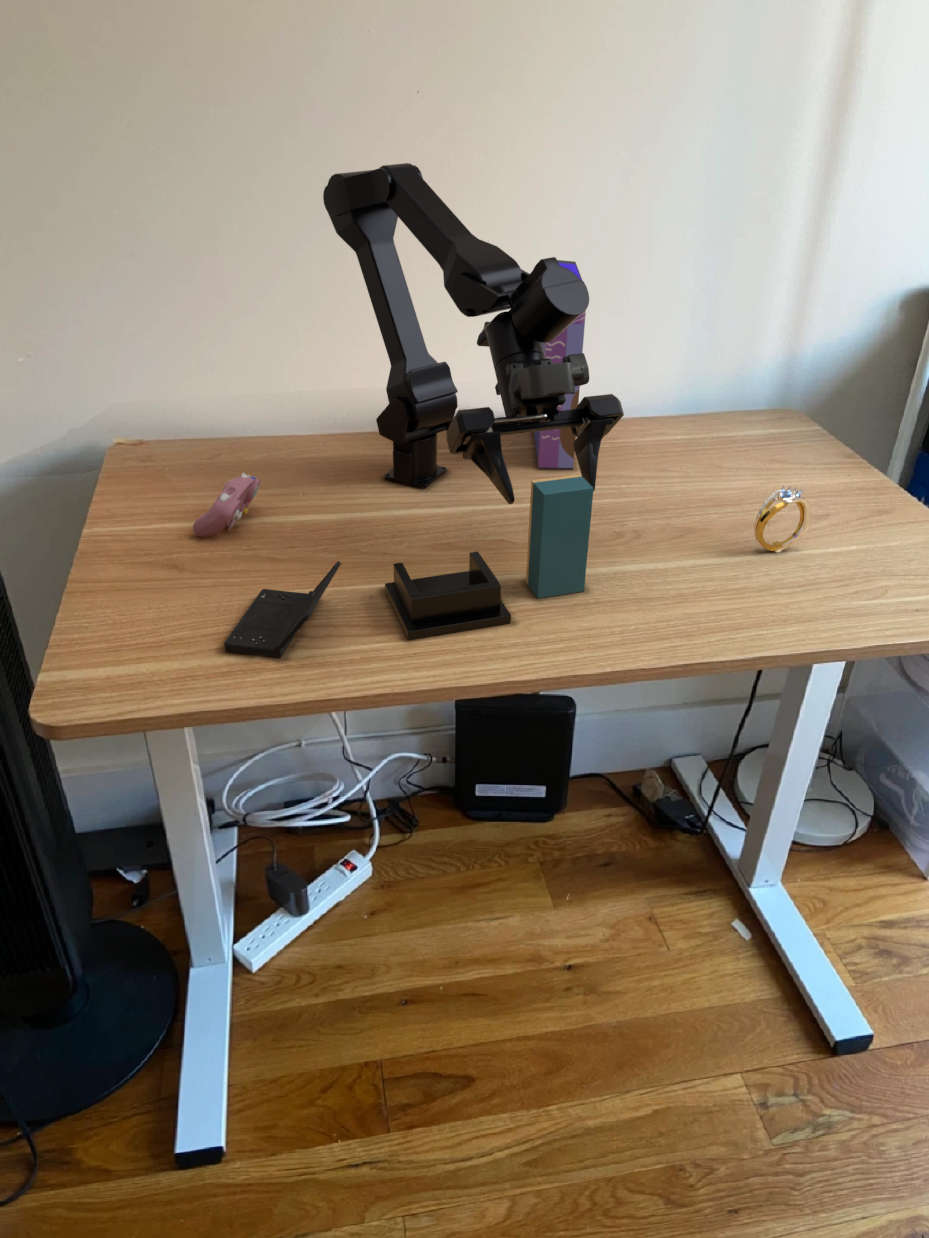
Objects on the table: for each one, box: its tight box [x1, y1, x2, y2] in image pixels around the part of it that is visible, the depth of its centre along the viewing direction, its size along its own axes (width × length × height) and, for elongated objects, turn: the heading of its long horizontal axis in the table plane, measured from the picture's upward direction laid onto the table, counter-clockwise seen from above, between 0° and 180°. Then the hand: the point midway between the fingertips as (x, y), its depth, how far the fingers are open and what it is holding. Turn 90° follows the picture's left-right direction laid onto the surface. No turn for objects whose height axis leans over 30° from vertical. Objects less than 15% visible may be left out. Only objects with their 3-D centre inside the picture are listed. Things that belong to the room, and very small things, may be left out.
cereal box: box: [533, 259, 587, 470], centre depth 132 cm, size 17×5×24 cm, turn 179°
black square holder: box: [384, 551, 512, 641], centre depth 100 cm, size 10×11×4 cm
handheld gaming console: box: [223, 560, 342, 658], centre depth 96 cm, size 12×7×10 cm
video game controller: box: [192, 472, 262, 538], centre depth 115 cm, size 10×5×7 cm, turn 168°
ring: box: [753, 485, 812, 553], centre depth 110 cm, size 7×3×8 cm, turn 105°
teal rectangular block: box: [525, 473, 594, 599], centre depth 101 cm, size 4×6×12 cm, turn 108°
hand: (552, 497), depth 101 cm, fingers open, 9 cm apart
